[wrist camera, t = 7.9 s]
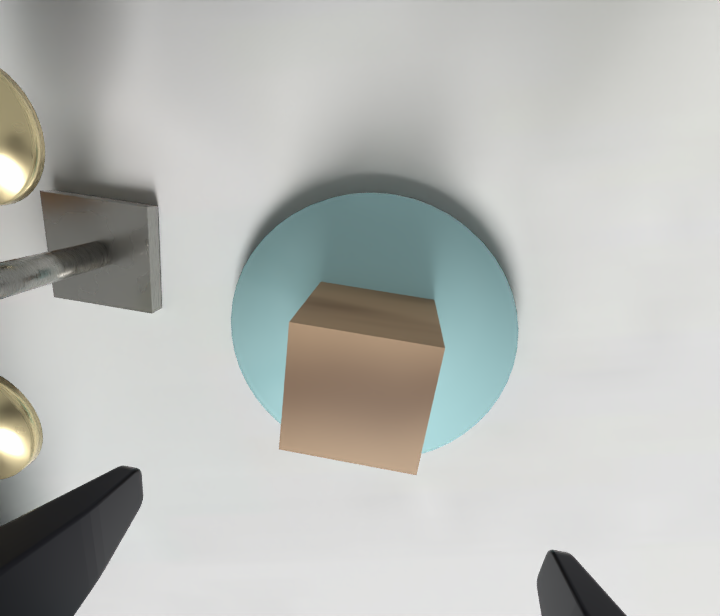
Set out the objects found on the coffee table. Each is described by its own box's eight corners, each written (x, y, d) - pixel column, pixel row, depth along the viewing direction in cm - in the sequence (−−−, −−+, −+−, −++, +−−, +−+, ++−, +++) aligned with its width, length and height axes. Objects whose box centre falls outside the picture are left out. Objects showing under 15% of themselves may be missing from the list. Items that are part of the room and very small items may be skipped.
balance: (164, 386, 21) (10, 523, 13) (76, 370, 22) (-129, 494, 13) (153, 96, 17) (-99, 20, 8) (41, 81, 17) (-310, -7, 9)
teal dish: (476, 466, 21) (479, 480, 20) (236, 422, 22) (228, 434, 21) (547, 215, 16) (556, 218, 16) (244, 172, 17) (234, 172, 16)
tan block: (413, 399, 19) (416, 475, 14) (310, 380, 19) (279, 449, 14) (434, 299, 17) (445, 348, 12) (320, 281, 17) (289, 322, 13)
